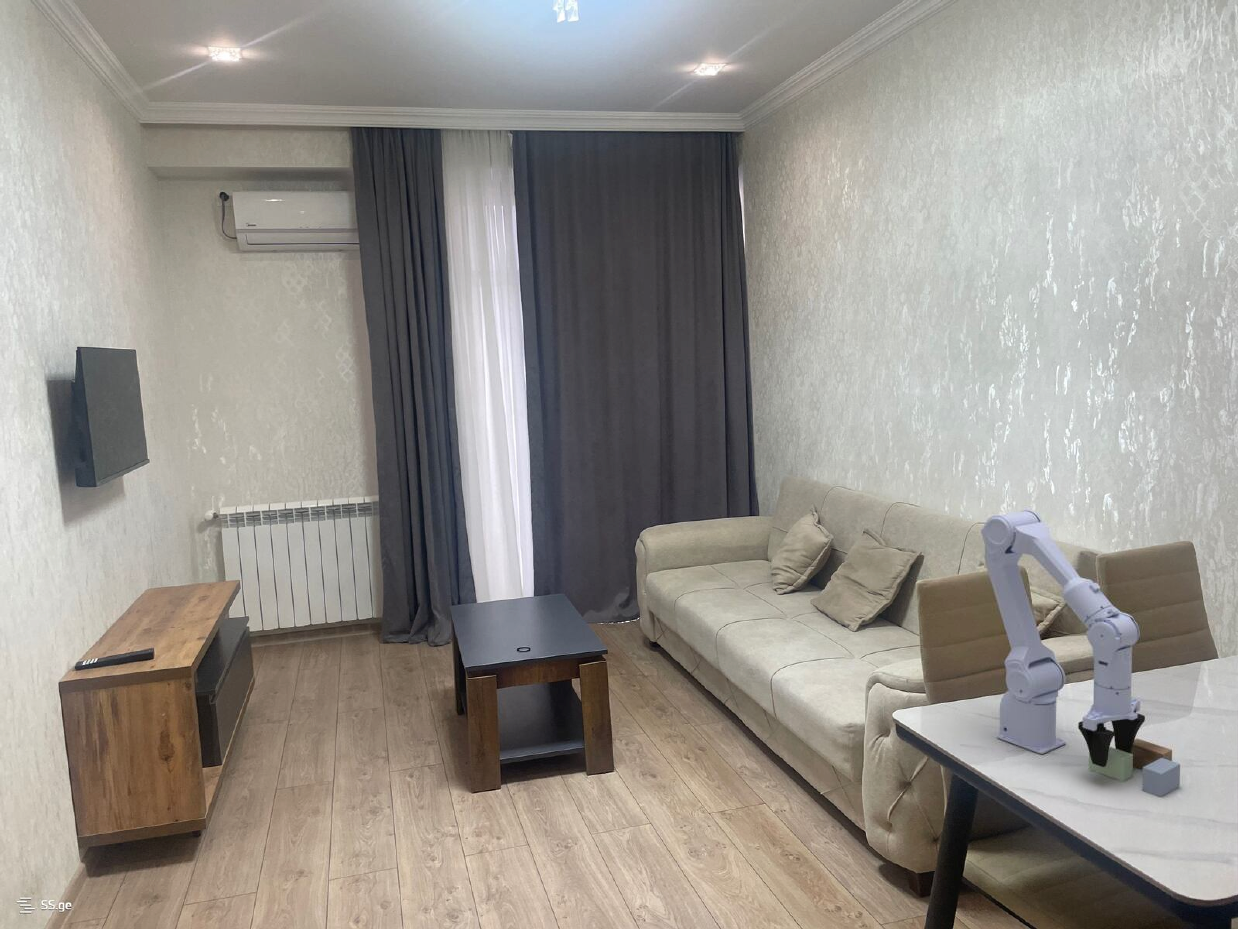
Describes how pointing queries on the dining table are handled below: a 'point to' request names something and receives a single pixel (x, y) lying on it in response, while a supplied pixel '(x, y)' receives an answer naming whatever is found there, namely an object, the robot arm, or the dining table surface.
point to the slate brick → (1161, 777)
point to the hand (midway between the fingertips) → (1111, 759)
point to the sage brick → (1115, 765)
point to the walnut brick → (1148, 753)
